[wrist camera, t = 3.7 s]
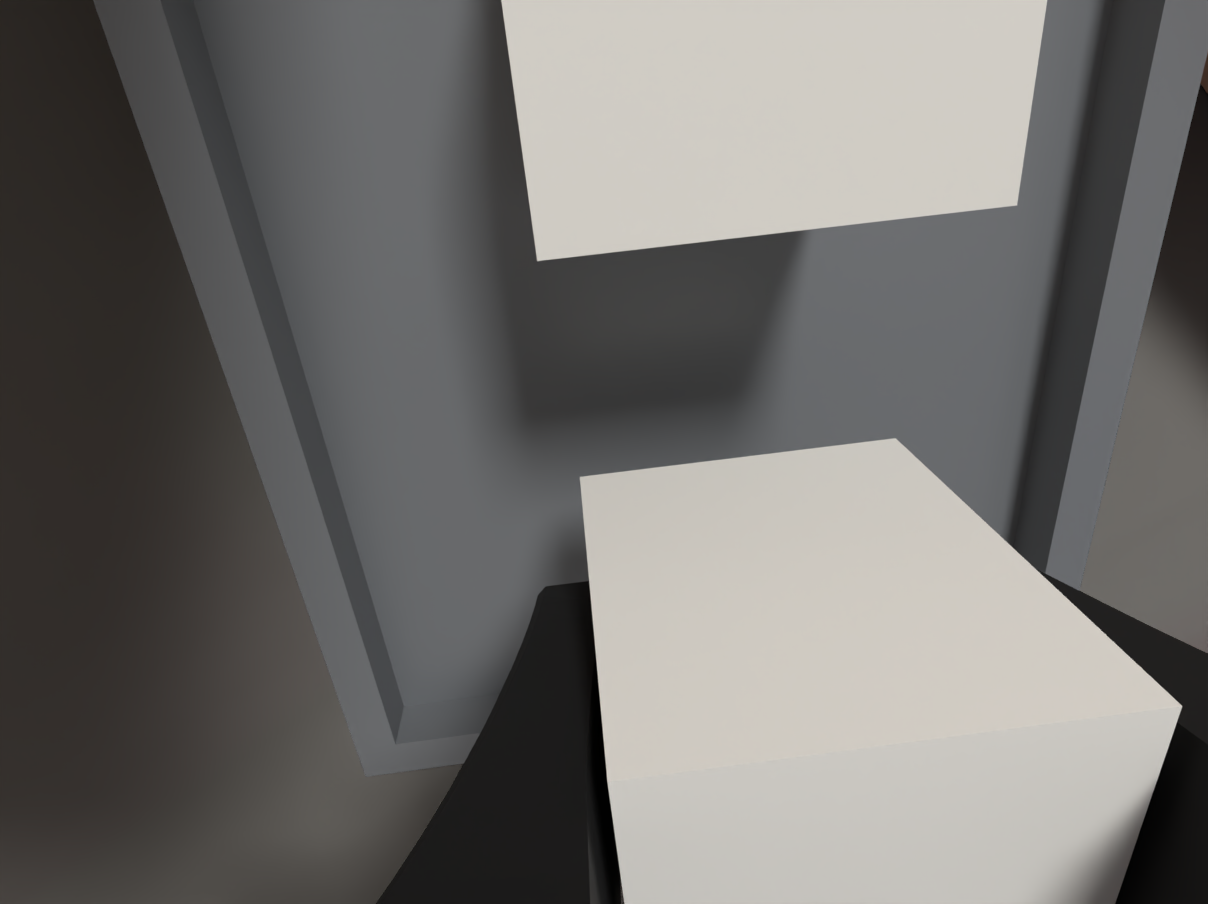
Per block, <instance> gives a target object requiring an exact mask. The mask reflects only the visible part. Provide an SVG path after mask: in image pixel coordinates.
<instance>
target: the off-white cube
mask: <svg viewBox="0 0 1208 904" xmlns="http://www.w3.org/2000/svg"><path fill="white" fill-rule="evenodd" d="M501 2H502V9H503V16H504V23H505V31H506V38H507V45H508V52H509V60H510V67H511V74H512V81H513V89H514V96H515V103H516V111H517V118H518V125H519V132H520V140H521V147H522V154H523V161H524V169H525V176H526V183H527V190H528V198H529V205H530V212H531V219H532V227H533V234H534V241H535V249H536V256H537V261H542V260H551V259H560V258H568V257H577V256H586V255H594V254H603V253H611V252H620V251H629V250H637V249H646V248H654V247H663V246H672V245H680V244H689V243H698V242H706V241H715V240H723V239H732V238H741V237H749V236H758V235H767V234H775V233H784V232H792V231H801V230H810V229H818V228H827V227H835V226H844V225H853V224H861V223H870V222H879V221H887V220H896V219H904V218H913V217H922V216H930V215H939V214H947V213H956V212H965V211H973V210H982V209H991V208H999V207H1008V206H1016V205H1017V202H1018V195H1019V188H1020V182H1021V175H1022V168H1023V161H1024V154H1025V148H1026V141H1027V134H1028V127H1029V121H1030V114H1031V107H1032V100H1033V94H1034V87H1035V80H1036V73H1037V67H1038V60H1039V53H1040V46H1041V39H1042V33H1043V26H1044V19H1045V12H1046V6H1047V0H501Z"/></svg>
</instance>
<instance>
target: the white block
mask: <svg viewBox="0 0 1208 904" xmlns="http://www.w3.org/2000/svg"><path fill="white" fill-rule="evenodd" d="M580 485H581V496H582V507H583V518H584V529H585V540H586V551H587V562H588V573H589V584H590V595H591V606H592V618H593V629H594V640H595V651H596V662H597V673H598V684H599V695H600V706H601V717H602V728H603V739H604V750H605V761H606V772H607V783H608V790H609V797H610V804H611V811H612V818H613V825H614V833H615V840H616V847H617V854H618V861H619V868H620V875H621V883H622V890H623V897H624V904H1115V903H1116V900H1117V897H1118V894H1119V891H1120V888H1121V885H1122V882H1123V879H1124V876H1125V873H1126V870H1127V867H1128V865H1129V862H1130V859H1131V856H1132V853H1133V850H1134V847H1135V844H1136V841H1137V838H1138V835H1139V832H1140V829H1141V826H1142V823H1143V820H1144V818H1145V815H1146V812H1147V809H1148V806H1149V803H1150V800H1151V797H1152V794H1153V791H1154V788H1155V785H1156V782H1157V779H1158V776H1159V773H1160V771H1161V768H1162V765H1163V762H1164V759H1165V756H1166V753H1167V750H1168V747H1169V744H1170V741H1171V738H1172V735H1173V732H1174V729H1175V726H1176V724H1177V721H1178V718H1179V715H1180V712H1181V709H1182V705H1181V704H1180V703H1178V702H1177V701H1176V700H1175V699H1174V698H1173V697H1172V696H1171V695H1170V694H1169V693H1168V692H1167V691H1166V690H1165V689H1163V688H1162V687H1161V686H1160V685H1159V684H1158V683H1157V682H1156V681H1155V680H1154V679H1153V678H1152V677H1151V676H1150V675H1148V674H1147V673H1146V672H1145V671H1144V670H1143V669H1142V668H1141V667H1140V666H1139V665H1138V664H1137V663H1136V662H1135V661H1133V660H1132V659H1131V658H1130V657H1129V656H1128V655H1127V654H1126V653H1125V652H1124V651H1123V650H1122V649H1121V648H1120V647H1119V646H1117V645H1116V644H1115V643H1114V642H1113V641H1112V640H1111V639H1110V638H1109V637H1108V636H1107V635H1106V634H1105V633H1104V632H1102V631H1101V630H1100V629H1099V628H1098V627H1097V626H1096V625H1095V624H1094V623H1093V622H1092V621H1091V620H1090V619H1089V618H1087V617H1086V616H1085V615H1084V614H1083V613H1082V612H1081V611H1080V610H1079V609H1078V608H1077V607H1076V606H1075V605H1074V604H1072V603H1071V602H1070V601H1069V600H1068V599H1067V598H1066V597H1065V596H1064V595H1063V594H1062V593H1061V592H1060V591H1059V590H1057V589H1056V588H1055V587H1054V586H1053V585H1052V584H1051V583H1050V582H1049V581H1048V580H1047V579H1046V578H1045V577H1044V576H1043V575H1041V574H1040V573H1039V572H1038V571H1037V570H1036V569H1035V568H1034V567H1033V566H1032V565H1031V564H1030V563H1029V562H1028V561H1026V560H1025V559H1024V558H1023V557H1022V556H1021V555H1020V554H1019V553H1018V552H1017V551H1016V550H1015V549H1014V548H1013V547H1011V546H1010V545H1009V544H1008V543H1007V542H1006V541H1005V540H1004V539H1003V538H1002V537H1001V536H1000V535H999V534H998V533H996V532H995V531H994V530H993V529H992V528H991V527H990V526H989V525H988V524H987V523H986V522H985V521H984V520H983V519H982V518H980V517H979V516H978V515H977V514H976V513H975V512H974V511H973V510H972V509H971V508H970V507H969V506H968V505H967V504H965V503H964V502H963V501H962V500H961V499H960V498H959V497H958V496H957V495H956V494H955V493H954V492H953V491H952V490H950V489H949V488H948V487H947V486H946V485H945V484H944V483H943V482H942V481H941V480H940V479H939V478H938V477H937V476H935V475H934V474H933V473H932V472H931V471H930V470H929V469H928V468H927V467H926V466H925V465H924V464H923V463H922V462H920V461H919V460H918V459H917V458H916V457H915V456H914V455H913V454H912V453H911V452H910V451H909V450H908V449H907V448H906V447H904V446H903V445H902V444H901V443H900V442H899V441H898V440H897V439H896V438H893V439H885V440H877V441H869V442H860V443H852V444H844V445H836V446H828V447H820V448H811V449H803V450H795V451H787V452H779V453H771V454H762V455H754V456H746V457H738V458H730V459H722V460H713V461H705V462H697V463H689V464H681V465H673V466H665V467H656V468H648V469H640V470H632V471H624V472H616V473H607V474H599V475H591V476H583V477H580Z"/></svg>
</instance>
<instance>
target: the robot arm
mask: <svg viewBox="0 0 1208 904" xmlns="http://www.w3.org/2000/svg"><path fill="white" fill-rule="evenodd" d="M1035 569H1036V568H1035ZM1036 570H1037V571H1038V572H1039V573H1040V574H1041V575H1043V576H1044V577H1045V578H1046V579H1047V580H1048V581H1049V582H1050V583H1051V584H1052V585H1053V586H1054V587H1055V588H1056V589H1057V590H1059V591H1060V592H1061V593H1062V594H1063V595H1064V596H1065V597H1066V598H1067V599H1068V600H1069V601H1070V602H1071V603H1072V604H1074V605H1075V606H1076V607H1077V608H1078V609H1079V610H1080V611H1081V612H1082V613H1083V614H1084V615H1085V616H1086V617H1087V618H1089V619H1090V620H1091V621H1092V622H1093V623H1094V624H1095V625H1096V626H1097V627H1098V628H1099V629H1100V630H1101V631H1102V632H1104V633H1105V634H1106V635H1107V636H1108V637H1109V638H1110V639H1111V640H1112V641H1113V642H1114V643H1115V644H1116V645H1117V646H1119V647H1120V648H1121V649H1122V650H1123V651H1124V652H1125V653H1126V654H1127V655H1128V656H1129V657H1130V658H1131V659H1132V660H1133V661H1135V662H1136V663H1137V664H1138V665H1139V666H1140V667H1141V668H1142V669H1143V670H1144V671H1145V672H1146V673H1147V674H1148V675H1150V676H1151V677H1152V678H1153V679H1154V680H1155V681H1156V682H1157V683H1158V684H1159V685H1160V686H1161V687H1162V688H1163V689H1165V690H1166V691H1167V692H1168V693H1169V694H1170V695H1171V696H1172V697H1173V698H1174V699H1175V700H1176V701H1177V702H1178V703H1180V704H1181V705H1182V709H1181V712H1180V715H1179V718H1178V721H1177V724H1176V726H1175V729H1174V732H1173V735H1172V738H1171V741H1170V744H1169V747H1168V750H1167V753H1166V756H1165V759H1164V762H1163V765H1162V768H1161V771H1160V773H1159V776H1158V779H1157V782H1156V785H1155V788H1154V791H1153V794H1152V797H1151V800H1150V803H1149V806H1148V809H1147V812H1146V815H1145V818H1144V820H1143V823H1142V826H1141V829H1140V832H1139V835H1138V838H1137V841H1136V844H1135V847H1134V850H1133V853H1132V856H1131V859H1130V862H1129V865H1128V867H1127V870H1126V873H1125V876H1124V879H1123V882H1122V885H1121V888H1120V891H1119V894H1118V897H1117V900H1116V903H1115V904H1208V653H1205V652H1203V651H1201V650H1199V649H1197V648H1195V647H1193V646H1191V645H1188V644H1186V643H1184V642H1182V641H1180V640H1178V639H1176V638H1174V637H1172V636H1169V635H1167V634H1165V633H1163V632H1161V631H1159V630H1157V629H1155V628H1153V627H1151V626H1149V625H1147V624H1145V623H1143V622H1141V621H1139V620H1137V619H1135V618H1133V617H1131V616H1128V615H1126V614H1124V613H1122V612H1120V611H1118V610H1116V609H1114V608H1112V607H1110V606H1108V605H1106V604H1104V603H1102V602H1100V601H1098V600H1097V599H1095V598H1093V597H1091V596H1089V595H1087V594H1085V593H1083V592H1081V591H1079V590H1077V589H1075V588H1073V587H1071V586H1069V585H1067V584H1065V583H1063V582H1061V581H1059V580H1057V579H1055V578H1053V577H1051V576H1049V575H1047V574H1045V573H1043V572H1041V571H1039V570H1038V569H1036ZM376 904H621V893H620V868H619V861H618V854H617V847H616V840H615V833H614V825H613V818H612V811H611V804H610V797H609V790H608V783H607V772H606V761H605V750H604V739H603V728H602V717H601V706H600V695H599V684H598V673H597V662H596V651H595V640H594V629H593V618H592V606H591V595H590V584H589V581H584V582H576V583H568V584H560V585H552V586H546V587H545V588H544V589H543V590H542V591H541V592H540V593H539V594H538V596H537V600H536V604H535V608H534V611H533V614H532V617H531V620H530V623H529V626H528V628H527V631H526V634H525V636H524V639H523V642H522V644H521V647H520V649H519V651H518V654H517V656H516V659H515V661H514V664H513V666H512V668H511V670H510V672H509V675H508V677H507V679H506V681H505V683H504V685H503V688H502V690H501V692H500V694H499V696H498V698H497V700H496V703H495V705H494V707H493V709H492V711H491V713H490V715H489V717H488V719H487V721H486V723H485V725H484V727H483V729H482V731H481V733H480V735H479V736H478V738H477V740H476V742H475V744H474V746H473V747H472V749H471V751H470V753H469V755H468V757H467V759H466V760H465V762H464V764H463V766H462V768H461V770H460V771H459V773H458V775H457V777H456V779H455V781H454V782H453V784H452V786H451V788H450V789H449V791H448V793H447V795H446V796H445V798H444V800H443V801H442V803H441V805H440V806H439V808H438V810H437V811H436V813H435V815H434V816H433V818H432V820H431V821H430V823H429V824H428V826H427V828H426V829H425V831H424V832H423V834H422V836H421V837H420V839H419V840H418V842H417V843H416V845H415V846H414V848H413V850H412V851H411V853H410V854H409V856H408V857H407V859H406V860H405V862H404V863H403V865H402V866H401V868H400V869H399V871H398V873H397V874H396V876H395V877H394V879H393V880H392V882H391V883H390V884H389V886H388V887H387V889H386V890H385V892H384V893H383V894H382V896H381V897H380V899H379V900H378V901H377V903H376Z"/></svg>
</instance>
